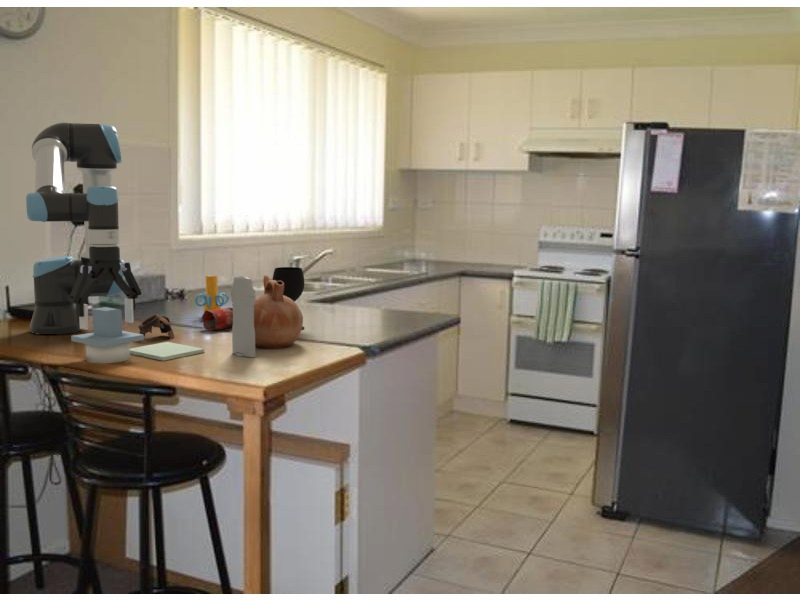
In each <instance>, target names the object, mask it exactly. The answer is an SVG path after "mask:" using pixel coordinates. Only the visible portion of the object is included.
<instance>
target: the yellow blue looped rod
mask: <svg viewBox="0 0 800 600" xmlns="http://www.w3.org/2000/svg"><path fill="white" fill-rule="evenodd" d="M218 291H219V290H218V275H217V274H206V275H205V292H201V293H200V294H197V295H196V296H195V298H194V303H195V304H196V306H198V307H203V313H202V315H203V314H204V312H205V311H206V310H207V311H209V310H216V309H222V308H221V307H223V306H224V305H226V304H227V303H228V302H229V295H228V294H227V293H225V292H220V293H218ZM224 296H225V297H226V299H225V297H224ZM198 298H199V299H200V300H199V301H200V303H199V302H198ZM203 299H204V300H203ZM220 299H221V301H220Z"/></svg>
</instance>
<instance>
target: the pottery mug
mask: <svg viewBox="0 0 800 600" xmlns="http://www.w3.org/2000/svg"><path fill="white" fill-rule="evenodd" d="M137 328H138V329H139V334H143V335H144V338H145V337H146V334H147V333H150V334H152V333H153V328H159V330H160V333H161V334H167V336H168V337H169V340H172V339H173V338H174V337H175V334H174V330H173V329H172V326H171V321H170V318H169V317H168V316H167V315H162V316H160V314H157V313H156V314H153V315H152V316H150V317H148V318H146V319H145V320H144V321H143V322H141V324H139V325H138V327H137Z"/></svg>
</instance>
